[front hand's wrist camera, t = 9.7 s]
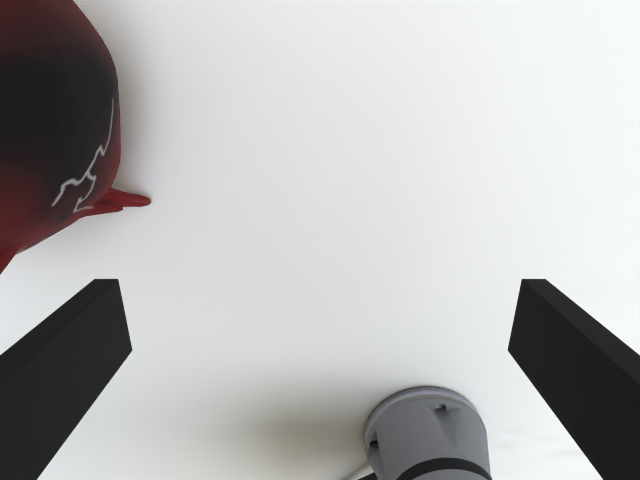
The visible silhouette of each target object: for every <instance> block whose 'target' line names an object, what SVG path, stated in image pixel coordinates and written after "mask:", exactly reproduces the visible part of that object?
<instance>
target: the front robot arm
mask: <svg viewBox="0 0 640 480" xmlns="http://www.w3.org/2000/svg"><path fill="white" fill-rule="evenodd" d="M131 351H132V346H131V341H130V336H129V331H128V326H127V321H126V316H125V311H124V306H123V301H122V296H121V291H120V286H119V281H118V279H94V280H93V281H92V282H90V283H89V284H88V285H87V286H85V287H84V288H83V289H82V290H80V291H79V292H78V293H77V294H76V295H74V296H73V297H72V298H71V299H69V300H68V301H67V302H66V303H64V304H63V305H62V306H61V307H59V308H58V309H57V310H56V311H55V312H53V313H52V314H51V315H50V316H48V317H47V318H46V319H45V320H43V321H42V322H41V323H40V324H38V325H37V326H36V327H35V328H34V329H32V330H31V331H30V332H29V333H27V334H26V335H25V336H24V337H22V338H21V339H20V340H19V341H17V342H16V343H15V344H14V345H13V346H11V347H10V348H9V349H8V350H6V351H5V352H4V353H3V354H1V355H0V480H37V478H38V477H39V476H40V474H41V473H42V472H43V470H44V469H45V468H46V466H47V465H48V464H49V462H50V461H51V460H52V458H53V457H54V456H55V454H56V453H57V451H58V450H59V449H60V447H61V446H62V445H63V443H64V442H65V441H66V439H67V438H68V437H69V435H70V434H71V433H72V431H73V430H74V428H75V427H76V426H77V424H78V423H79V422H80V420H81V419H82V418H83V416H84V415H85V414H86V412H87V411H88V410H89V408H90V407H91V405H92V404H93V403H94V401H95V400H96V399H97V397H98V396H99V395H100V393H101V392H102V391H103V389H104V388H105V387H106V385H107V384H108V383H109V381H110V380H111V378H112V377H113V376H114V374H115V373H116V372H117V370H118V369H119V368H120V366H121V365H122V364H123V362H124V361H125V360H126V358H127V357H128V355H129V354H130V353H131ZM508 351H509V353H510V354H511V355H512V357H513V358H514V360H515V361H516V362H517V364H518V365H519V366H520V368H521V369H522V370H523V372H524V373H525V374H526V376H527V377H528V378H529V380H530V381H531V383H532V384H533V385H534V387H535V388H536V389H537V391H538V392H539V393H540V395H541V396H542V397H543V399H544V400H545V401H546V403H547V404H548V405H549V407H550V408H551V410H552V411H553V412H554V414H555V415H556V416H557V418H558V419H559V420H560V422H561V423H562V424H563V426H564V427H565V428H566V430H567V431H568V433H569V434H570V435H571V437H572V438H573V439H574V441H575V442H576V443H577V445H578V446H579V447H580V449H581V450H582V451H583V453H584V454H585V456H586V457H587V458H588V460H589V461H590V462H591V464H592V465H593V466H594V468H595V469H596V470H597V472H598V473H599V474H600V476H601V477H602V478H603V480H640V355H639V354H637V353H636V352H635V351H634V350H632V349H631V348H630V347H629V346H627V345H626V344H625V343H624V342H623V341H621V340H620V339H619V338H618V337H616V336H615V335H614V334H613V333H611V332H610V331H609V330H608V329H606V328H605V327H604V326H603V325H602V324H600V323H599V322H598V321H597V320H595V319H594V318H593V317H592V316H590V315H589V314H588V313H587V312H585V311H584V310H583V309H582V308H581V307H579V306H578V305H577V304H576V303H574V302H573V301H572V300H571V299H569V298H568V297H567V296H566V295H564V294H563V293H562V292H561V291H560V290H558V289H557V288H556V287H555V286H553V285H552V284H551V283H550V282H548V281H547V280H546V279H522V281H521V286H520V291H519V296H518V301H517V306H516V311H515V316H514V321H513V326H512V331H511V336H510V341H509V346H508ZM364 440H365V448H366V454H367V458H368V460H369V462H370V464H371V466H372V468H373V470H374V473H372V474H369V475H367V476H365V477H363V478H361V479H358V480H492V478H491V475H490V464H489V454H488V444H487V433H486V429H485V426H484V424H483V422H482V420H481V418H480V416H479V414H478V412H477V410H476V408H475V407H474V406H473V405H472V403H471V402H469V401H468V400H467V399H466V398H465V397H463V396H461V395H460V394H458V393H456V392H453V391H450V390H447V389H443V388H437V387H419V388H413V389H409V390H405V391H402V392H400V393H397V394H395V395H393V396H391V397H389V398H388V399H386V400H385V401H383V402H382V403H381V404H380V405H379V406H378V407H377V408H376V409H375V410H374V411H373V412H372V414H371V415H370V417H369V419H368V421H367V423H366V427H365V431H364Z"/></svg>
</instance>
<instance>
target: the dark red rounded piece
mask: <svg viewBox="0 0 640 480" xmlns="http://www.w3.org/2000/svg"><path fill="white" fill-rule="evenodd" d="M120 153H121V142H120V111H119V94H118V81H117V74H116V69H115V65H114V63H113V60H112V58H111V55H110V53H109V50H108V48H107V47H106V45H105V43H104V42H103V40H102V38H101V37H100V35H99V34H98V32H97V31H96V30H95V28H94V27H93V25H92V24H91V23H90V21H89V20H88V19H87V17H86V16H85V15H84V14H83V12H82V11H81V10H80V9H79V7H78V6H77V5H76V4H75V3H74V1H73V0H0V274H1V273H2V272H3V270H4V269H5V268H6V266H7V265H8V264H9V262H10V261H11V260H12V258H13V257H14V256H15V255H16V254H18V253H20V252H22V251H24V250H26V249H28V248H30V247H32V246H34V245H36V244H38V243H40V242H41V241H43V240H45V239H47V238H48V237H50V236H52V235H54V234H55V233H57V232H59V231H60V230H62V229H64V228H66V227H67V226H69V225H71V224H72V223H74V222H75V221H77V220H78V219H79V218H82V217H85V216H90V215H97V214H104V213H112V212H118V211H121V210H123V207H142V206H146V205H149V204H150V203H151V201H150V199H149V198H147V197H144V196H140V195H136V194H131V193H126V192H122V191H119V190H116V189H113V188H111V184H112V182H113V180H114V178H115V176H116V173H117V170H118V166H119V163H120Z"/></svg>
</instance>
